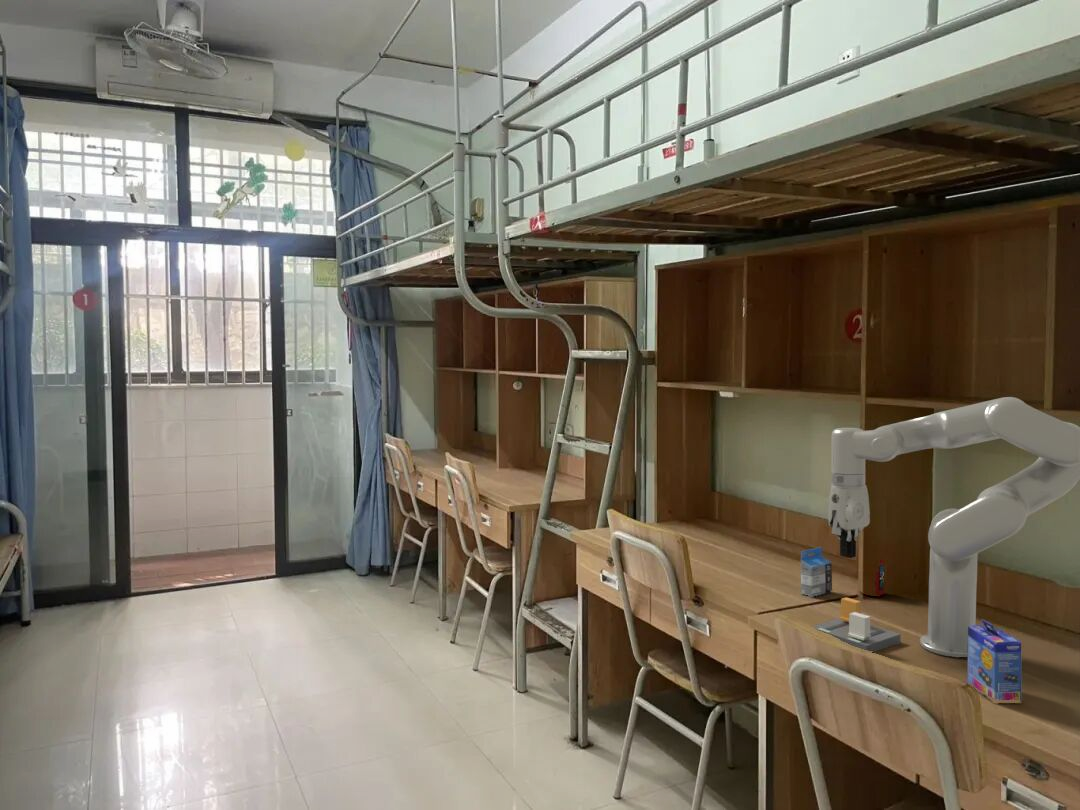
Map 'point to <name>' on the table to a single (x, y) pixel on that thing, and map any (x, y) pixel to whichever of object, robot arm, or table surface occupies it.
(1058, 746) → the table surface
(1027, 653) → the table surface
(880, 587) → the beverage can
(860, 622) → the white breaker handle
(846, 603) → the orange breaker handle
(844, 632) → the breaker panel
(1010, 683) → the ink cartridge box
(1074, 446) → the robot arm
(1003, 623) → the table surface
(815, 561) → the label tape box
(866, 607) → the table surface
